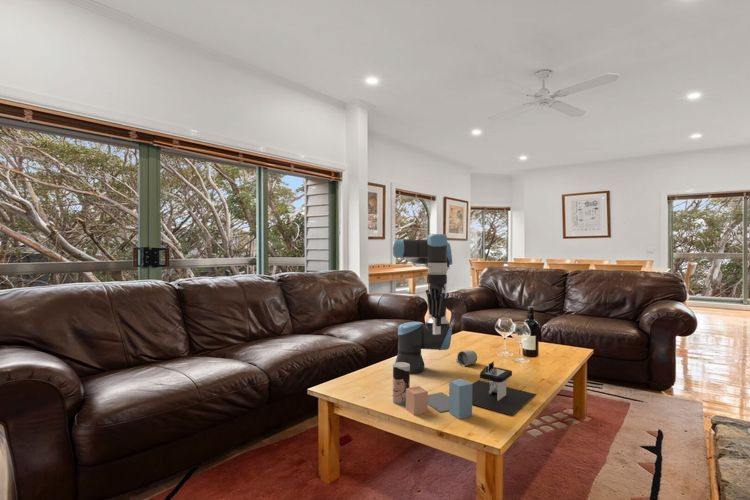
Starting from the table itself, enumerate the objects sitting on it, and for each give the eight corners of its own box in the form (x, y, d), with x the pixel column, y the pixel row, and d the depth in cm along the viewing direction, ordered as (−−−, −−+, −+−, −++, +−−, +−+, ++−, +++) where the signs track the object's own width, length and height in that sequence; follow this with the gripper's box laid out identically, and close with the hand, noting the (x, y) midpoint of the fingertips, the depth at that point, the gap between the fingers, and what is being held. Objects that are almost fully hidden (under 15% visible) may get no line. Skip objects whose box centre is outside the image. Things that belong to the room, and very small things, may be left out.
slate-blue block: (449, 412, 152) (449, 381, 151) (461, 410, 154) (462, 378, 154) (458, 419, 146) (459, 386, 146) (472, 416, 149) (472, 383, 149)
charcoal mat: (417, 397, 166) (417, 396, 166) (441, 393, 171) (441, 392, 171) (440, 412, 152) (440, 411, 152) (465, 407, 157) (465, 406, 157)
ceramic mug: (478, 364, 211) (478, 350, 210) (468, 367, 206) (468, 352, 206) (462, 360, 219) (462, 346, 219) (452, 363, 214) (452, 348, 214)
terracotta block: (405, 409, 155) (405, 388, 155) (419, 406, 158) (419, 386, 157) (413, 415, 150) (414, 394, 149) (427, 412, 152) (427, 391, 152)
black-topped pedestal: (478, 380, 187) (479, 351, 187) (536, 394, 170) (537, 363, 170) (448, 397, 165) (449, 365, 165) (512, 415, 149) (512, 379, 148)
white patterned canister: (392, 398, 166) (392, 362, 165) (409, 398, 166) (409, 362, 165) (393, 404, 159) (393, 367, 159) (410, 405, 159) (410, 367, 158)
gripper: (420, 272, 162) (419, 331, 162) (438, 274, 150) (437, 338, 150) (436, 272, 165) (435, 330, 165) (455, 274, 153) (454, 336, 153)
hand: (436, 334), depth 157 cm, fingers closed
